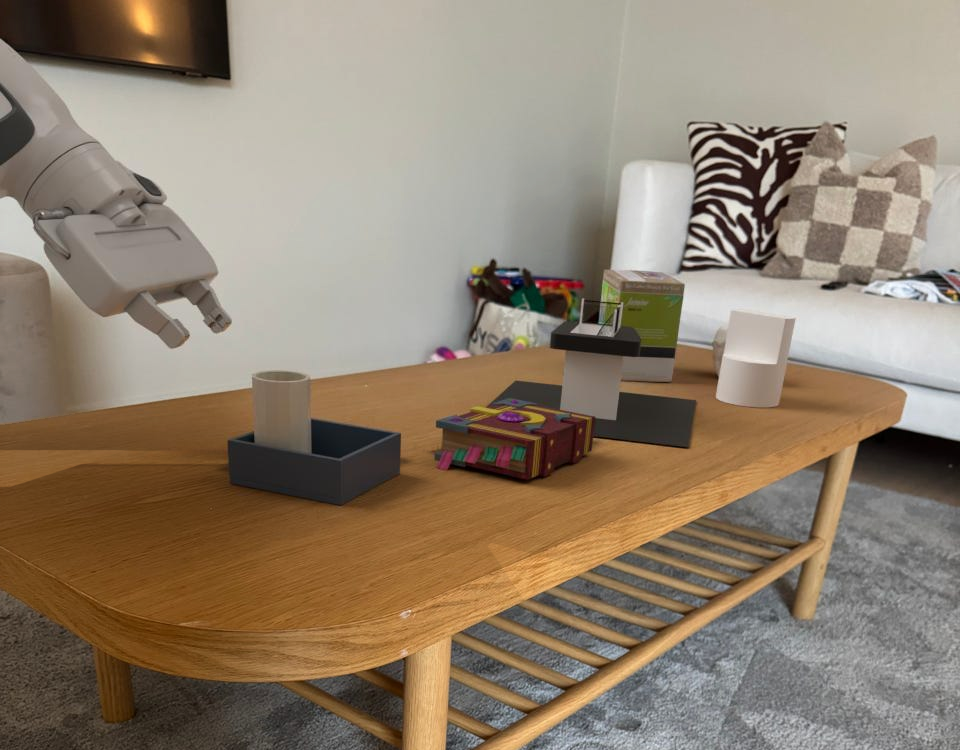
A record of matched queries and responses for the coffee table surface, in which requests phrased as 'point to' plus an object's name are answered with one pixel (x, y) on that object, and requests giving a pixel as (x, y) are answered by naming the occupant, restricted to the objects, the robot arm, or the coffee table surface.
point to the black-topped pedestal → (606, 384)
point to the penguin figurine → (719, 346)
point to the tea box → (646, 319)
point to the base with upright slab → (754, 358)
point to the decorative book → (515, 438)
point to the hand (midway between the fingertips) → (204, 335)
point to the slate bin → (319, 462)
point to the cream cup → (282, 409)
